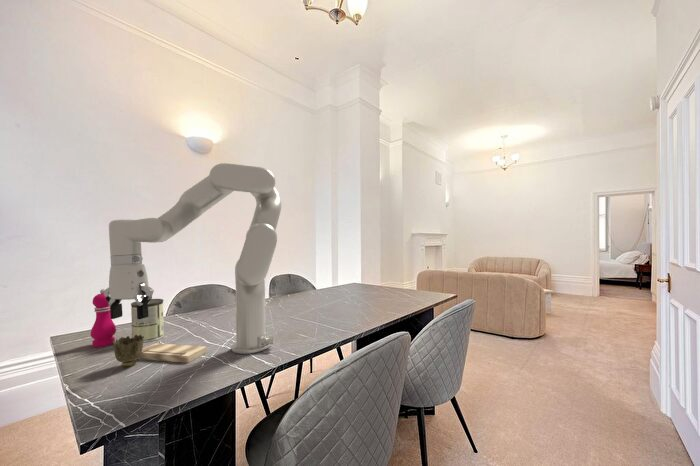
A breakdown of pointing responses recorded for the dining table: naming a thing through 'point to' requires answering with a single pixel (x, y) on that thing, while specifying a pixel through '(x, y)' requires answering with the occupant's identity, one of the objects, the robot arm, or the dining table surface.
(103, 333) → the pepper mill
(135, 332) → the coffee can
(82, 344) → the dining table surface
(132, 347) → the cup
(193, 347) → the maple board
